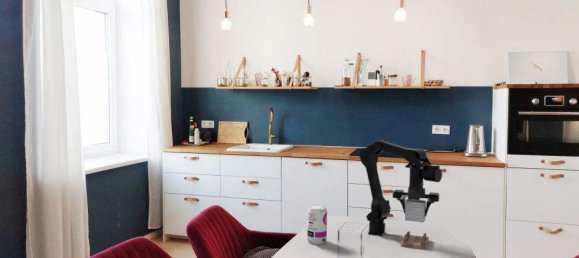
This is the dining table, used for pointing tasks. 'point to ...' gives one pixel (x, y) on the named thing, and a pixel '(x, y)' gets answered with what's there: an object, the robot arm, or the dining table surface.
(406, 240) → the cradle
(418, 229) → the dining table surface
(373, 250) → the dining table surface
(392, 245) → the dining table surface
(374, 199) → the robot arm
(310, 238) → the supplement can
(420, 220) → the medicine box
